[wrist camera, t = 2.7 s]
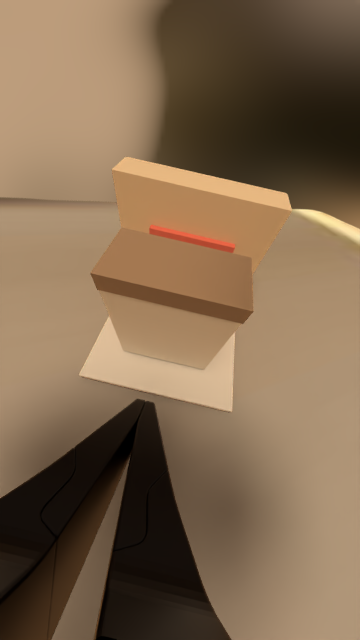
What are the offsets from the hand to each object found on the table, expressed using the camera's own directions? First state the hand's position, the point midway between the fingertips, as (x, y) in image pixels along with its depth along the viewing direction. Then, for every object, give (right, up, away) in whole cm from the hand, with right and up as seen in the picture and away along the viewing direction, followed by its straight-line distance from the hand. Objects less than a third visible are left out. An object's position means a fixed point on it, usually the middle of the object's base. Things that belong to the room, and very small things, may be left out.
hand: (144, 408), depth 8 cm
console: (+1, +4, +12) cm, 13 cm away
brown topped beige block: (0, +1, +11) cm, 11 cm away
